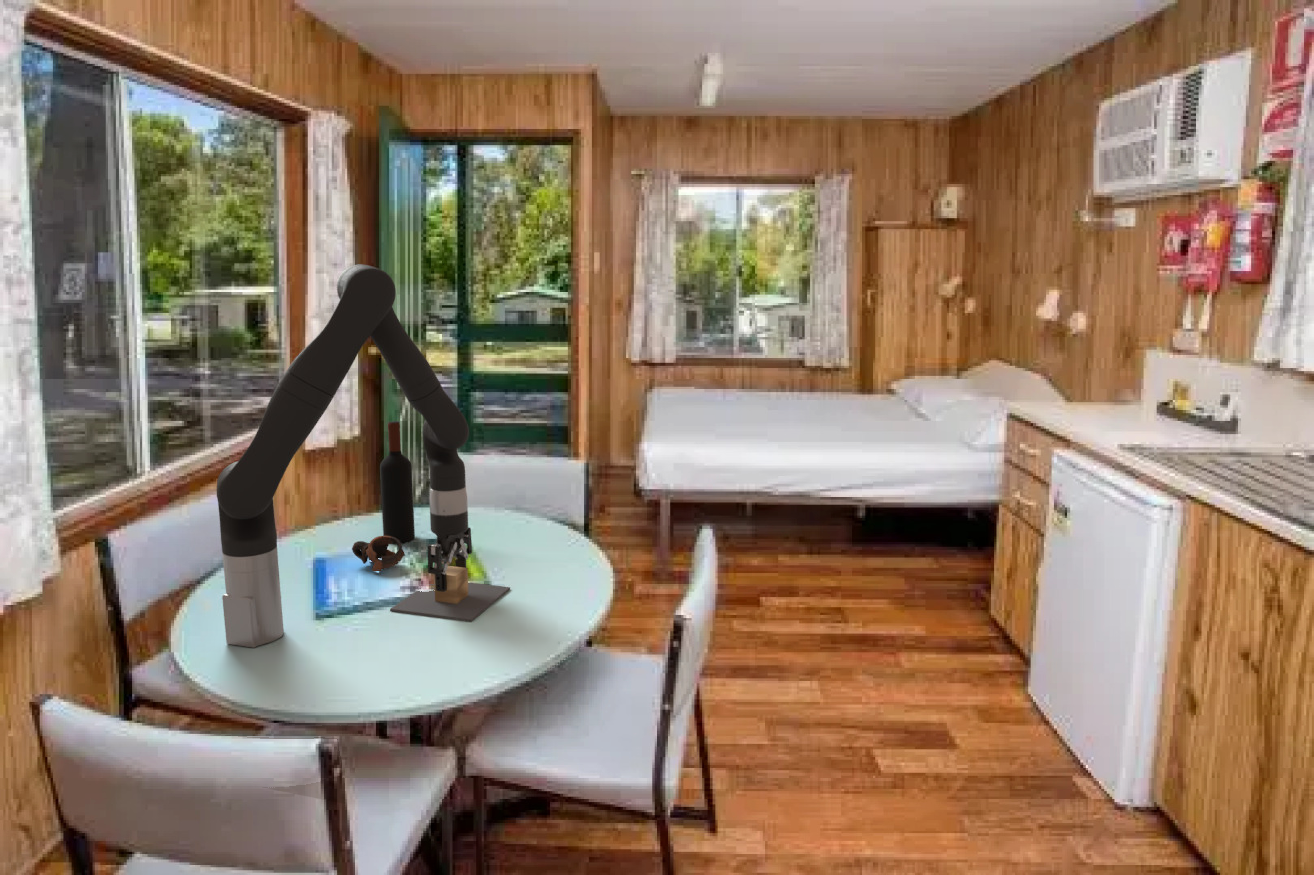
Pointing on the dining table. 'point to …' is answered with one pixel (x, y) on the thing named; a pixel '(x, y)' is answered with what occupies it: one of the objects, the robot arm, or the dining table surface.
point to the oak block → (454, 585)
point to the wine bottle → (397, 490)
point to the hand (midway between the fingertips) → (451, 583)
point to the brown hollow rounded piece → (379, 552)
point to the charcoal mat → (464, 610)
